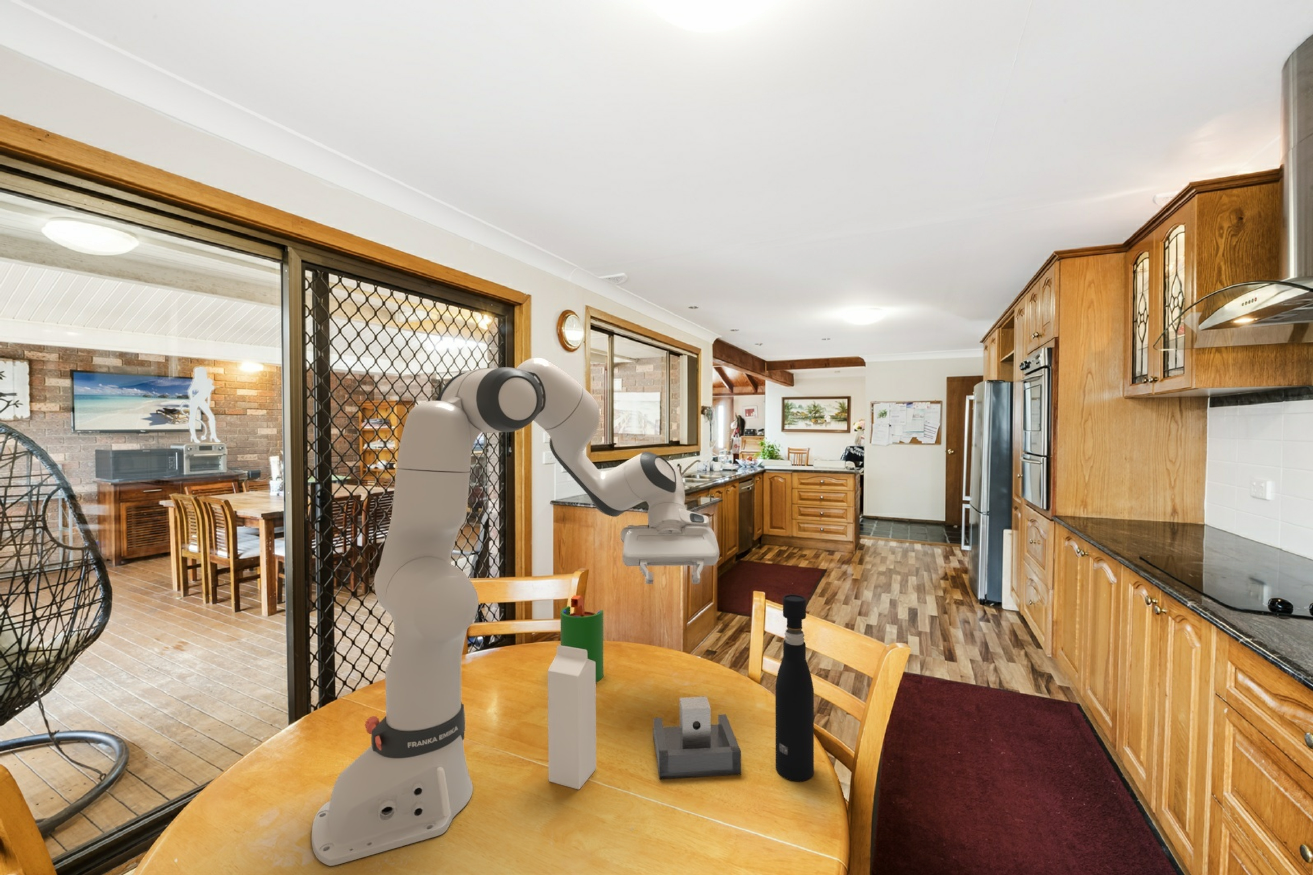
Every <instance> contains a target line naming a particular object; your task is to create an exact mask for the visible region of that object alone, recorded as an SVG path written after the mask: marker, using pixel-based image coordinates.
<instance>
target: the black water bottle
mask: <svg viewBox="0 0 1313 875" xmlns="http://www.w3.org/2000/svg"><path fill="white" fill-rule="evenodd" d="M782 617H783V618H785V619H786V629H785V632H784V640H783V643H782V649H783V650H782V653H783V654H782V655H783V656H782V659H781V663H780V665H779V668H778V671H777V675H776V680H775V689H774V691H775V693H774V694H775V696H774V697H775V701H774V702H775V705H774V706H775V770H776V772H777V774H778V775H780V776H781V777H782V778H784V779H786V780H788V781H791V782H797V781H799V783H800V781H801V782H806V781H809V780H810V779H812V777H813V776H814V773H815V767H814V766H815V764H814V763H815V761H814V760H815V758H814V757H815V753H814V752H815V750H814V749H815V747H814V746H815V744H814V743H815V738H814V737H815V731H814V730H815V725H814V724H815V718H814V717H815V716H814V715H815V714H814V712H815V706H814V704H815V702H814V701H815V692H814V689H815V688H814V683H813V679H812V678H813V677H812V673H811V671H810V669H809V664H808V662H807V659H806V658H807V657H806V656H807V655H806V654H807V653H806V652H807V651H806V650H807V649H806V648H807V647H806V646H807V645H806V644H807V643H806V642H805V634H804V631H803V620H805V619H806V618H807V598H806V597H804V596H802V595H799V594H786V595H784V596H782Z"/></svg>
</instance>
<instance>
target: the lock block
mask: <svg viewBox="0 0 1313 875" xmlns="http://www.w3.org/2000/svg"><path fill="white" fill-rule="evenodd" d="M711 709H712V708H711V706H710V702H709V699H708V696H693V697H692V696H691V697H690V696H689V697H687V696H686V697H679V726H680V750H681V749H699V748H711V725H712V724H711V721H712V720H711V719H712V718H711V714H712V713H711V712H712V710H711Z"/></svg>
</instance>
